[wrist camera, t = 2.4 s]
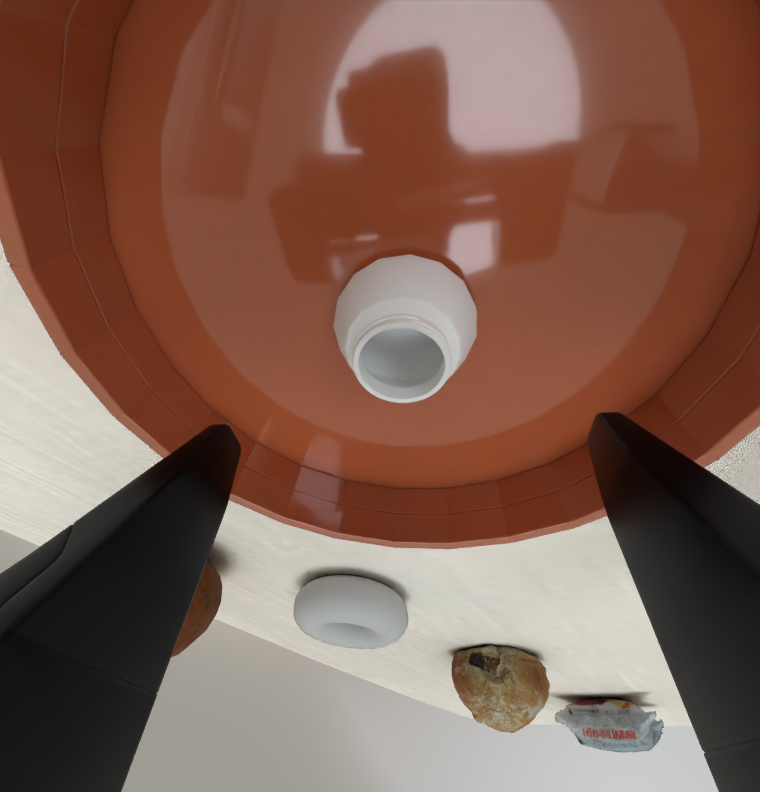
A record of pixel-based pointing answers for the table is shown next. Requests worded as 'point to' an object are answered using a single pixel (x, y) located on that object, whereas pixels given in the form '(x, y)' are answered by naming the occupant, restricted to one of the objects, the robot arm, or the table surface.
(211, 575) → the potato
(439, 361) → the white jar
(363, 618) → the donut
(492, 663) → the bread roll
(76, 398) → the table surface
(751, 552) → the robot arm
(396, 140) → the terracotta round tray
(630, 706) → the packaged food
